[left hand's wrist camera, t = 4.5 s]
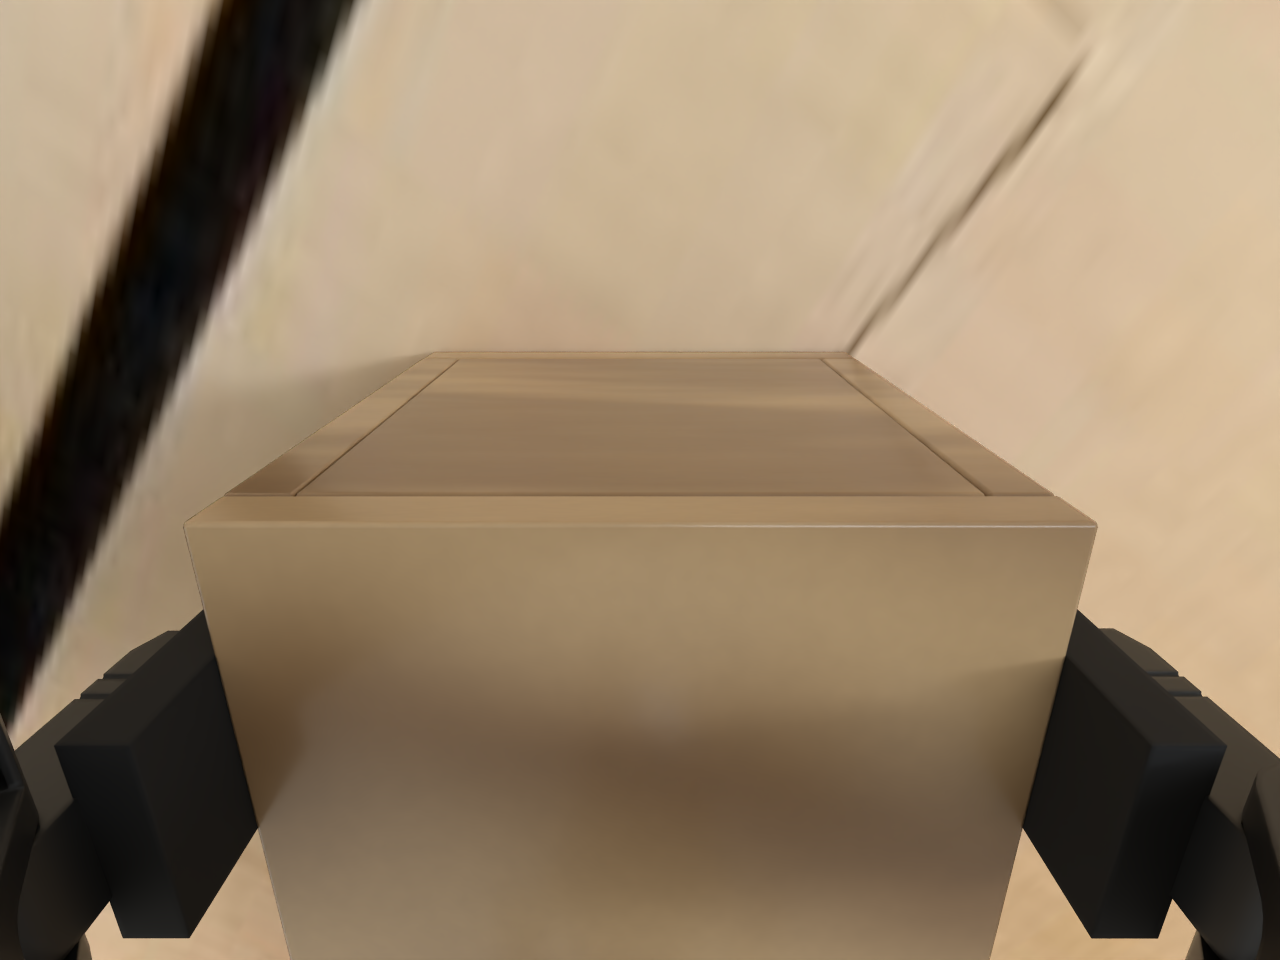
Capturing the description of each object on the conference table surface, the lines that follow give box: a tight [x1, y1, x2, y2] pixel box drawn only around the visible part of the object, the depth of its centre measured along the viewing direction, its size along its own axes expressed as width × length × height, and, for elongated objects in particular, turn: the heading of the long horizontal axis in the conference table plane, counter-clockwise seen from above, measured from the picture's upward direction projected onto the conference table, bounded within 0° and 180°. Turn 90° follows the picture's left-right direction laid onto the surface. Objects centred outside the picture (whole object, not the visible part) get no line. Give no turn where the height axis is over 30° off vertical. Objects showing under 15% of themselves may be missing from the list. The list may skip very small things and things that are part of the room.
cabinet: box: [183, 352, 1098, 960], centre depth 16 cm, size 21×10×10 cm, turn 0°
